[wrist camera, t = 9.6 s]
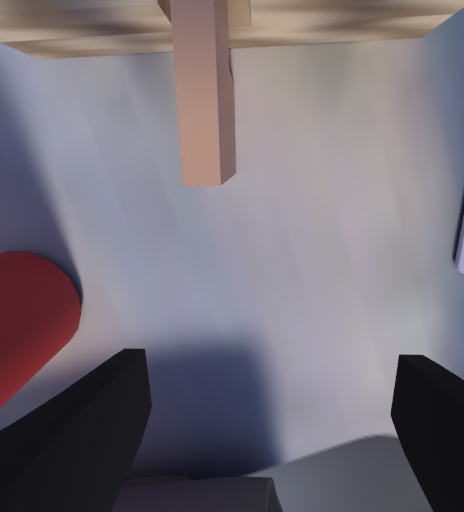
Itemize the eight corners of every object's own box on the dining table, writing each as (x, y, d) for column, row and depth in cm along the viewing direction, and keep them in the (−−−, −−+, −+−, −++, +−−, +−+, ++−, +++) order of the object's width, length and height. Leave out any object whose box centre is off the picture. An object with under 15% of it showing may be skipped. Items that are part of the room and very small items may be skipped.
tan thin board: (229, -130, 13) (198, -420, 7) (235, 173, 17) (220, 185, 10) (199, -127, 13) (140, -409, 7) (212, 173, 17) (183, 186, 10)
